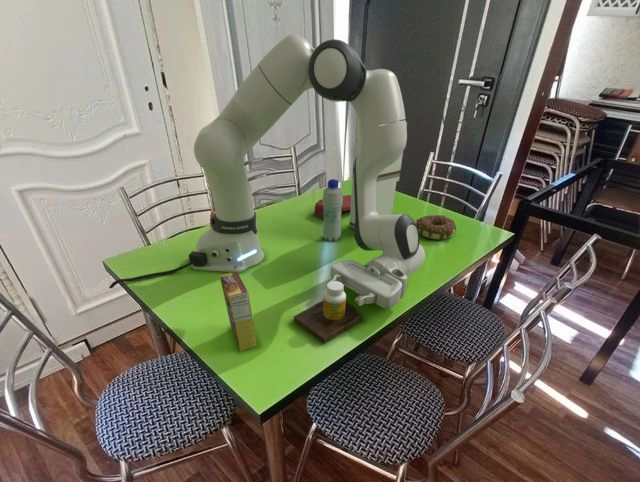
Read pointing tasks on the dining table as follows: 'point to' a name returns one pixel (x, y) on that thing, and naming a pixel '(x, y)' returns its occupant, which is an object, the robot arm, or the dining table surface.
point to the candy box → (239, 310)
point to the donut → (436, 227)
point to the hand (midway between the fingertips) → (343, 293)
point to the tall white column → (379, 183)
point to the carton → (320, 208)
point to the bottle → (332, 210)
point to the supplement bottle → (334, 301)
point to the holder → (326, 322)
